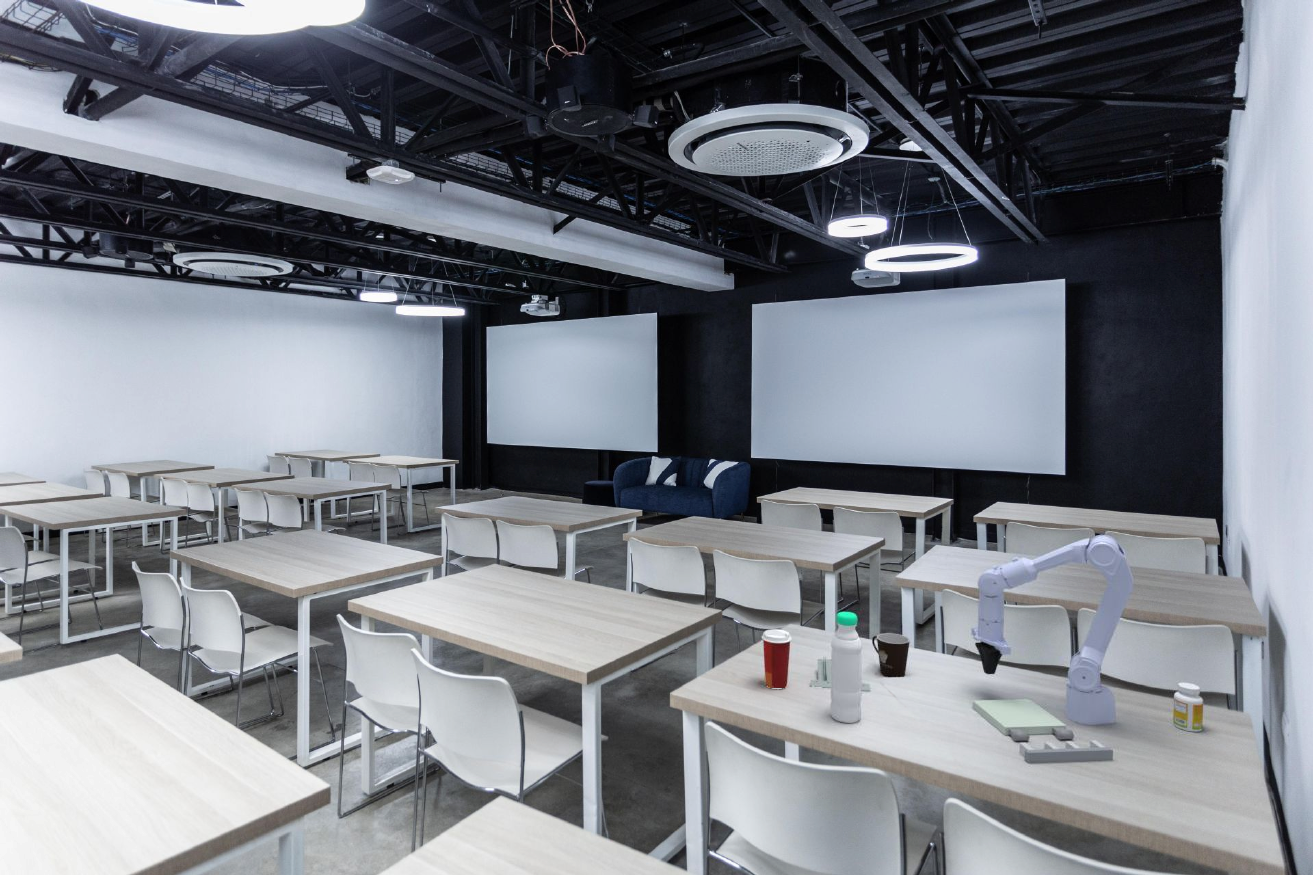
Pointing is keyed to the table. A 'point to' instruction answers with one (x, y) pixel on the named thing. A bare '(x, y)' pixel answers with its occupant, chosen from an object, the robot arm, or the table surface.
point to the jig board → (1066, 753)
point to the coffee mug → (892, 654)
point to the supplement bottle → (1188, 708)
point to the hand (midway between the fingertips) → (989, 673)
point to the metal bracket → (829, 676)
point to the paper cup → (776, 657)
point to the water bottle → (846, 670)
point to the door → (1021, 718)
